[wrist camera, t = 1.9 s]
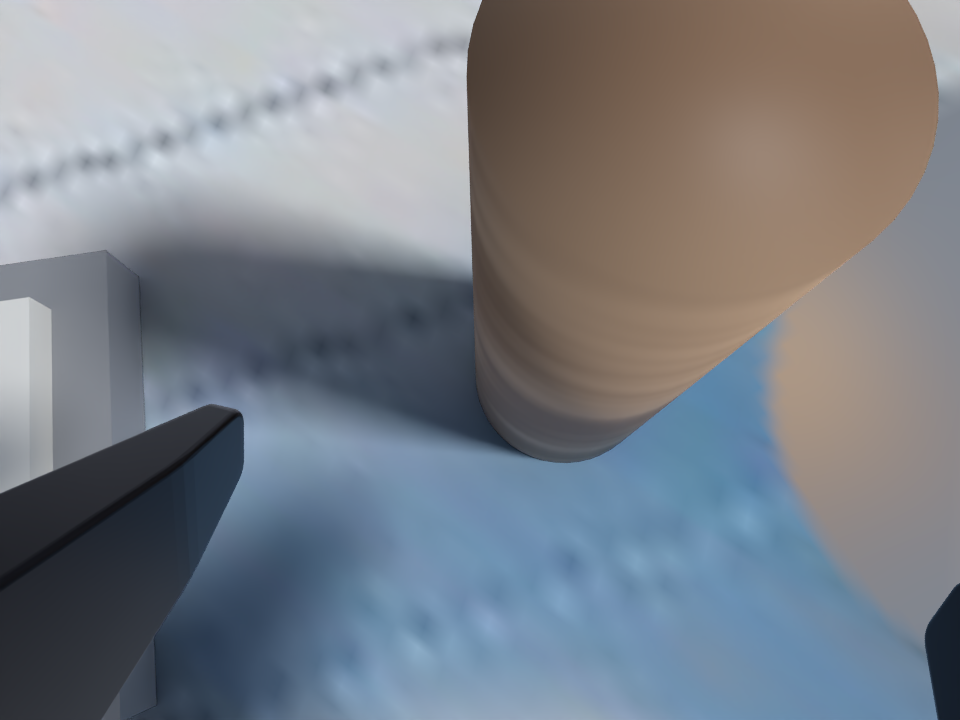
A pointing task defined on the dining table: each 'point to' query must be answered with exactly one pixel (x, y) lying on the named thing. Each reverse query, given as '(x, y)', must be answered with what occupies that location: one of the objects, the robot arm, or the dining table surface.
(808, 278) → the post
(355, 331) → the dining table surface
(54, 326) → the base
